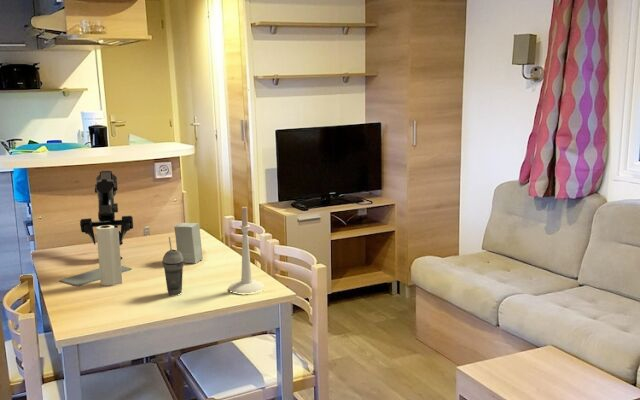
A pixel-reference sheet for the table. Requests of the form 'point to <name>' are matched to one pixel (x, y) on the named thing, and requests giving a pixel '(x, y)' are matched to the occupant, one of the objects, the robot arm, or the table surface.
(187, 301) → the table surface
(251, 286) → the candlestick
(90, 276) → the gray mat
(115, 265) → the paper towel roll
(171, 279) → the beverage cup
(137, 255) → the table surface
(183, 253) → the skincare box
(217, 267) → the table surface
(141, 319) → the table surface
